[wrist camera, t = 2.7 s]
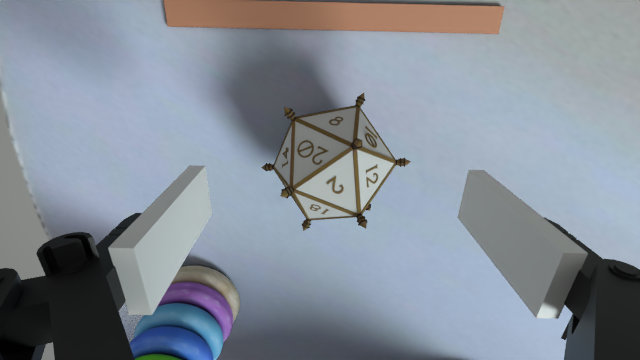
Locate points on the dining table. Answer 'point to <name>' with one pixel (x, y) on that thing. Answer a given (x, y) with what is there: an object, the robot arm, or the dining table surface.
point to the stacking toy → (189, 318)
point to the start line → (333, 16)
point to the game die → (333, 163)
